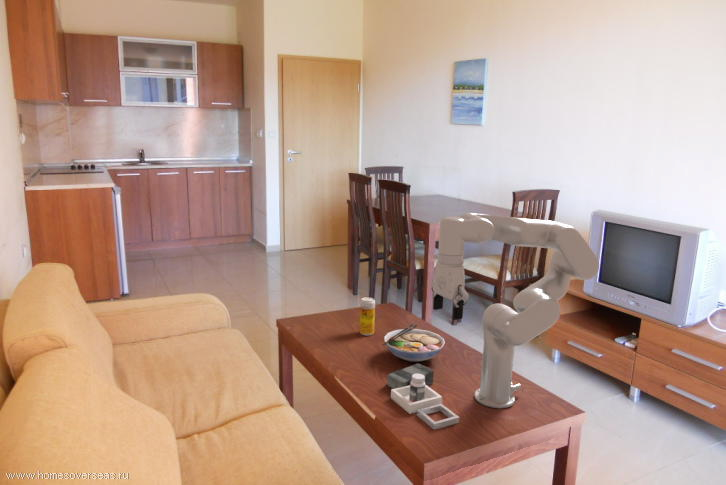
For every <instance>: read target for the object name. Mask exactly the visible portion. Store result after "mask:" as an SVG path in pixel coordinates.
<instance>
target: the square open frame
mask: <svg viewBox="0 0 726 485" xmlns="http://www.w3.org/2000/svg"><path fill="white" fill-rule="evenodd" d="M438 412H441V413H442V414H443V415H444V416H446V417H447V418H444V419H440V420H437V421H435V420H434V419H432V417H430V416H429V415H431V414H434V413H438ZM416 416H417V417H418V418H419V419H420V420H422V421H423V422H424V423H425V424H427V425H428V426H429V427H430V428H431V429H433V430H434V431H435V430H439V429H443V428H445V427H446V428H447V427H448V426H453V425H456V424H460V416H459V415H457V414H456V413H454V412H453V411H452V410H450V409H449V408H448V407H446V406H445V405H444V404H443V403H442V404H437V405H434V406H430V407H426V408H422V409H419V410H417V412H416Z"/></svg>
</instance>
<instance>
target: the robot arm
mask: <svg viewBox="0 0 726 485" xmlns="http://www.w3.org/2000/svg"><path fill="white" fill-rule="evenodd" d="M438 232H439V235H438V252H437V261H436V263H435V267H434V271H433V278H432V279H431V280H430V285H431V291H432V296H433V307H432V310H435V311H436V310H443V308H444V298H445V299H447V300H449V301H450V300H452V302H453V305H454V306H453V310H452V320H453V321H456V320H462V319H463V316H464V307H465V306H466V304H467V303H468V300H469V298H470V295H469V293H468V292H467V290H466V289H465V286H466V285H465V283H466V282H465V281H466V280H465V267H464V261H465V260H464V259H465V258H464V257H465V246H466V243H472V244H485V243H488V242H489V241H491V240H494V241H498V242H501V243H503V244H507V245H510V246H515V247H529V248H538V249H540V248H544V249H548V250H549V249H550V250H553V252H552V255H551V257H550V258H551V259H550V264H549V268H548V271H547V273H546V274H545V275H544V276H542V277H541V278H540V279H539V280H537V281H535V282H534V283H533V284H531V285H529V286H527V287H526V288H524V289H522V290H521V291H520V292H517V293H516V295H515V296H514V298H513V301H512V304H513V307H514V308H512V307H510V306H508V305H506V304H504V303H497V302H496V303H492V304H490V305H489V306H487V308H485V310H484V313H483V316H482V331H483V348H482V349H483V350H482V361H481V371H480V372H481V374H480V375H481V376H480V387H479V388H478V389H476V390H475V392H474V398H475V400H476V401H477V402H478V403H479V404H481V405H483V406H486V407H490V408H492V409H493V408H494V409H507V408H509V407H512V406H513V405H514V404H515V402H516V398H515V395H514V394H513V393H514V392H515V391H520V390H522V385H521V384H520V383H516V384H513V382H512V380H513V379H512V377H513V367H514V359H515V358H514V357H515V347H518V346H522V345H524V344H527V343H528V342H531V340H533V339H535V338H537V337H538V336H540V335H541V334H543V333H544V332H546V331H547V330H549V329H551V327H553V326H554V325H555V324H556V323H557V321H559V319H560V316H561V312H562V308H561V304H560V303H559V301H560V300H561V299H562V298H563V297H565V296H566V294H567V293H568V291H569V287H570V283H571V279H572V277H573V278H576V279H578V280H581V281H587V280H591V279H593V278H595V277H596V276H597V274H598V273H599V269H600V262H599V258H598V257H597V255H596V253H595V252H594V251H593V249H592V248H591V247H590V245H589V244H588V243H587V241H586V239H585V238H584V237H583V236H582V234H581V232H579V231H578V230H577V229H576V228H575V227H573V226H572V225H569V224H565V223H563V222H559V221H554V220H547V219H546V220H544V219H535V218H534V219H532V218H524V217H514V216H513V217H512V216H503V215H496V214H495V215H494V214H493V215H492V214H485V213H474V212H466V213H463V214H461V215H459V217H458V216H445V217H443V218H441V219H440V221H439V231H438ZM458 300H459V301H458Z"/></svg>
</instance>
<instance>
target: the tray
mask: <svg viewBox="0 0 726 485" xmlns="http://www.w3.org/2000/svg"><path fill="white" fill-rule="evenodd" d="M409 396H410V385H408V386H404V387H400V388H396V389H392V388H391V390H390V399H391V400H392V401H393V402H394V403H395V404H397V405H398V406H400V407H401V408H402V409H403V410H404V411H406V413H408V414H409V415H411V414H415V413H416V414H417V410H419V409H422V408H426V407H430V406H434V405H437V404H442V405H443V396H442V395H440V394H439V393H438V392H437V391H435V390H434V389H433V388H431V387H430V386H429V385H425V397H424V400H421V401H417V402H413V403H412V402H411V401H410V400H409Z"/></svg>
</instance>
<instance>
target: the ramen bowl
mask: <svg viewBox="0 0 726 485" xmlns="http://www.w3.org/2000/svg"><path fill="white" fill-rule="evenodd" d="M383 338H384V339H383V340H384V343H383V344H381V346H386V347H387V348H388V350H389V351H390V352H391V353H392V354H393V355H394V356H396V357H397V358H400V359H401V360H405V361H408V362H411V363H417V362H424V361H428V360H430V359H432V358H434V357H436V356H437V355H438V354H439V353H440V352H441V350H442V349H443V347H444V345H445V343H446V342H445V339H444V337H442V336H441V335H439V334H437V333H435V332H434V331H433V332H432V331H430V330H424V329H419V328H418V324H414V323H411V324H409V325H408V326H406V327H405V328H402V329H401V328H400V329H395V330H391V331H389V332H387V333H386V334H385V336H383Z"/></svg>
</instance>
